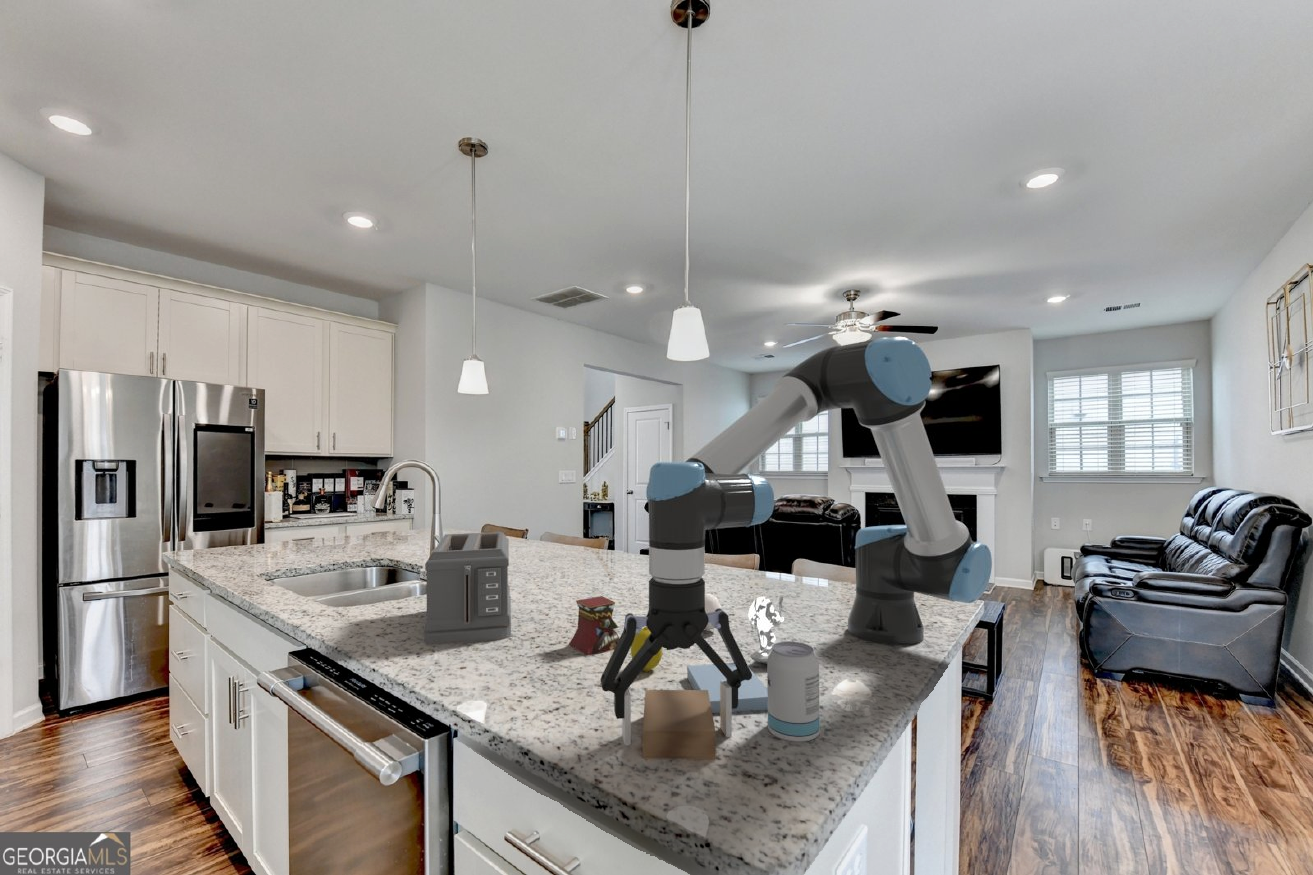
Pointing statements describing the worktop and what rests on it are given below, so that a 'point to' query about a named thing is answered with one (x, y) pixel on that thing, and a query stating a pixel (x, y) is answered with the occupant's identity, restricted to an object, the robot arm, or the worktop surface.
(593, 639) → the tiki totem
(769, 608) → the figurine
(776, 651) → the beverage can
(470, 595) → the toaster
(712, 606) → the egg
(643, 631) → the lemon
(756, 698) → the base brick
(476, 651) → the worktop surface
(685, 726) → the walnut brick
